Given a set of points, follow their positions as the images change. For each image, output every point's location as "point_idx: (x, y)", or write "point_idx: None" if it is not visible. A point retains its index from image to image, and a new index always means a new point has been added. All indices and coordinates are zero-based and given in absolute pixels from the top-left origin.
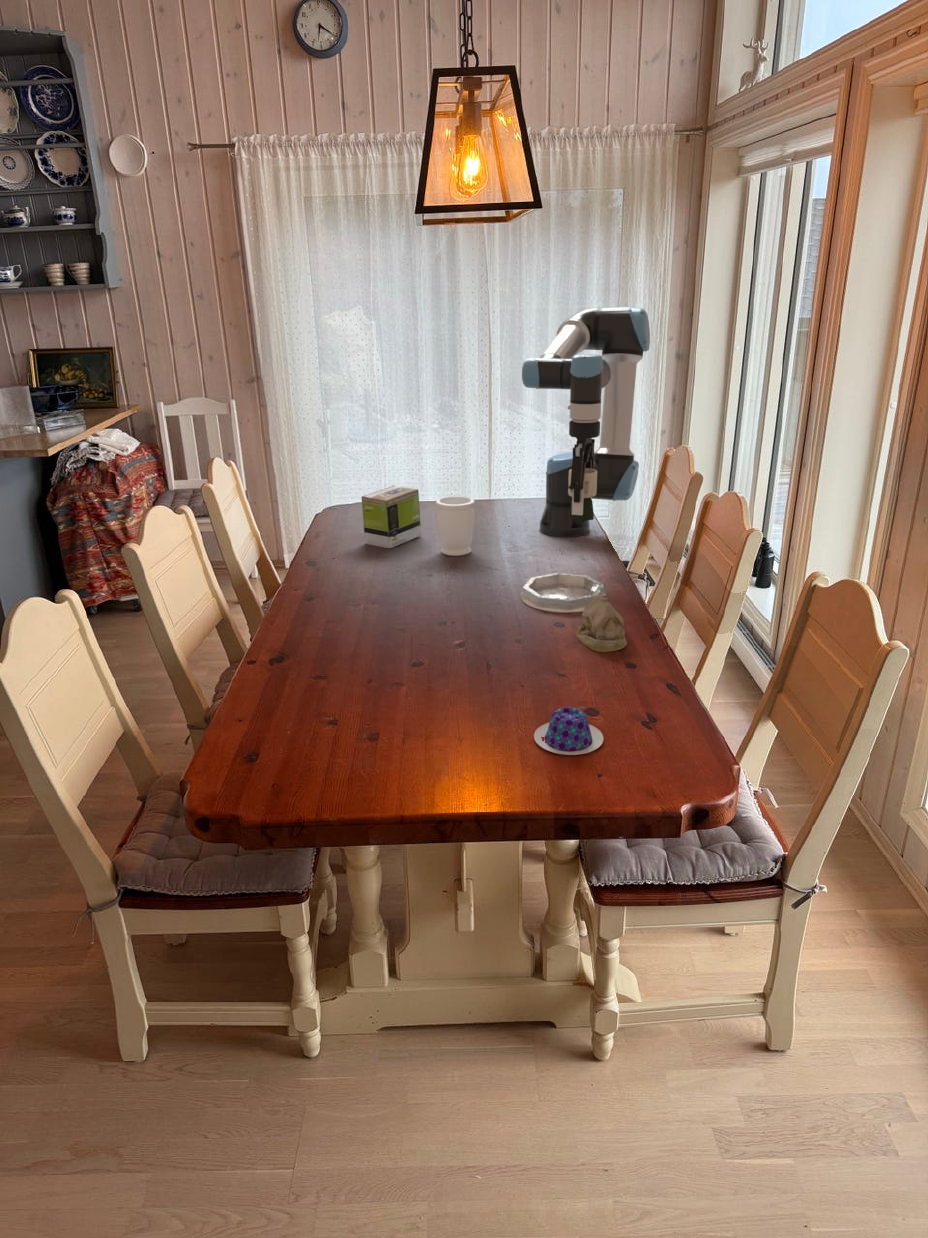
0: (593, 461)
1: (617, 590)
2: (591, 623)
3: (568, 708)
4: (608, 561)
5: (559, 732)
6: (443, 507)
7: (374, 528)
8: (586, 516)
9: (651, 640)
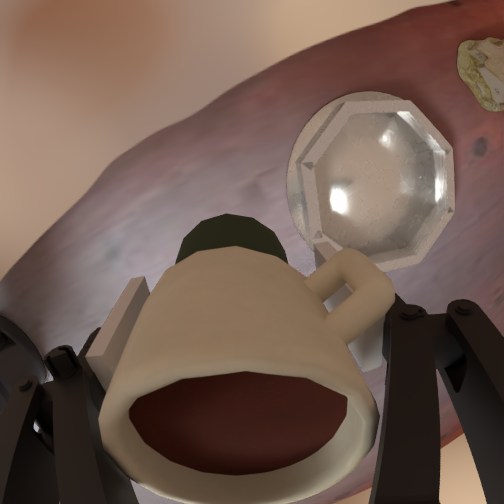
0: (3, 458)
1: (285, 87)
2: None
3: None
4: (94, 194)
5: None
6: None
7: None
8: (271, 235)
9: (463, 4)
